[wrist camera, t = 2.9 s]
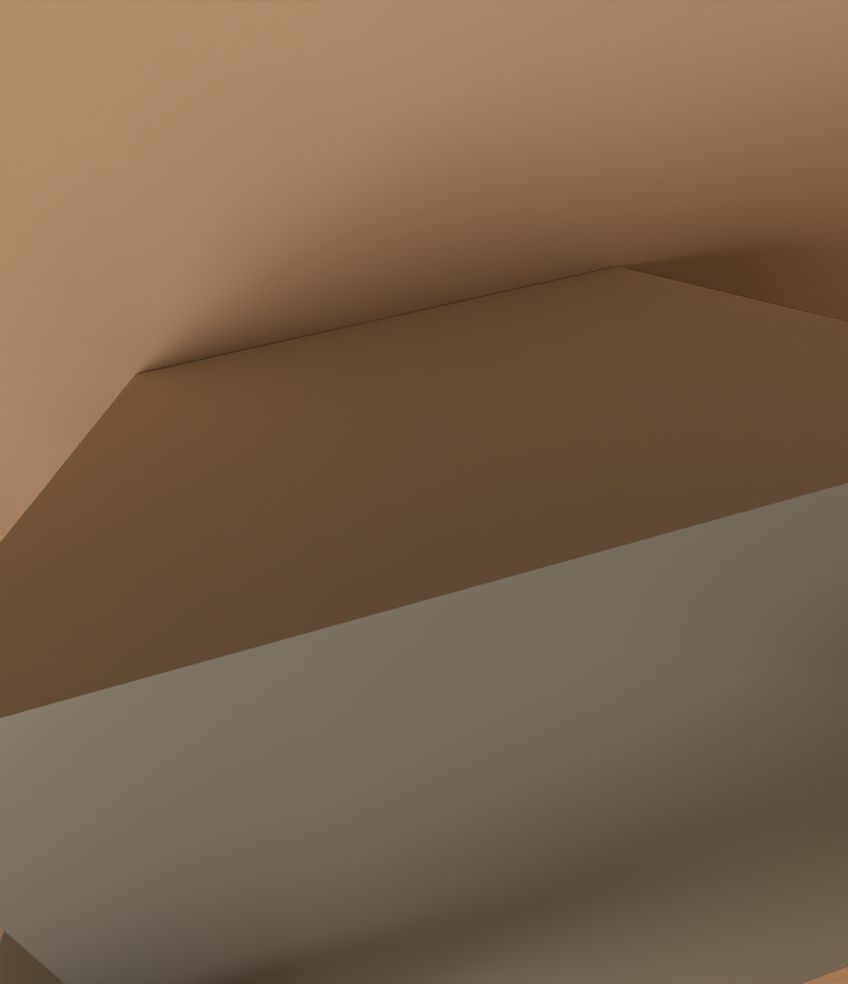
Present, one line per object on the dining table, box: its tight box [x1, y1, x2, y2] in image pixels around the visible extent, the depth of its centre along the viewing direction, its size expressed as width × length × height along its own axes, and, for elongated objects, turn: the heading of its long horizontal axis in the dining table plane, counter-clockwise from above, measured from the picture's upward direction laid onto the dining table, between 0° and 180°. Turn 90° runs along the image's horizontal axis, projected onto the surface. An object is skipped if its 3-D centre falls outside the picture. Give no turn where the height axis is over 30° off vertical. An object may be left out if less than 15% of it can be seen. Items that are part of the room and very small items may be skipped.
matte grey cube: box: [0, 266, 848, 984], centre depth 10 cm, size 10×10×9 cm
